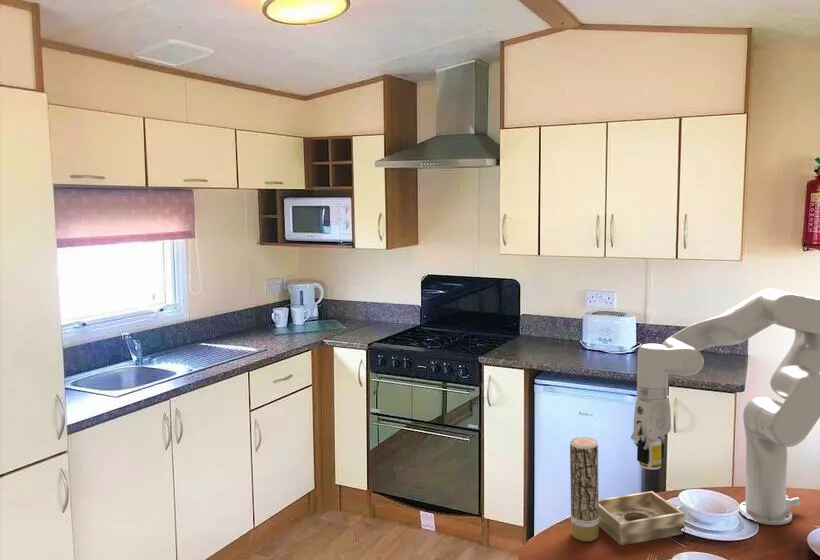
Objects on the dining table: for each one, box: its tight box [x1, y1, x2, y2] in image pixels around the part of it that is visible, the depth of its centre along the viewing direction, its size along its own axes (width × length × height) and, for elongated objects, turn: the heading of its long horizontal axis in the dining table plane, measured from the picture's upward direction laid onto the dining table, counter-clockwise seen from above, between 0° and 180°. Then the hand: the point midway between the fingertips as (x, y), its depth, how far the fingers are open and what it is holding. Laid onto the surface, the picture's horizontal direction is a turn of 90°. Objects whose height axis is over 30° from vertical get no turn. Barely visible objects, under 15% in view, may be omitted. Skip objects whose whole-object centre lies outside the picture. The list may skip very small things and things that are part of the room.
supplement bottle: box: [638, 434, 662, 470], centre depth 179 cm, size 5×5×10 cm
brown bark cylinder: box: [569, 436, 600, 543], centre depth 174 cm, size 7×7×25 cm
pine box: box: [598, 490, 686, 546], centre depth 179 cm, size 18×14×6 cm
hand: (650, 458), depth 180 cm, fingers closed on supplement bottle, 5 cm apart
